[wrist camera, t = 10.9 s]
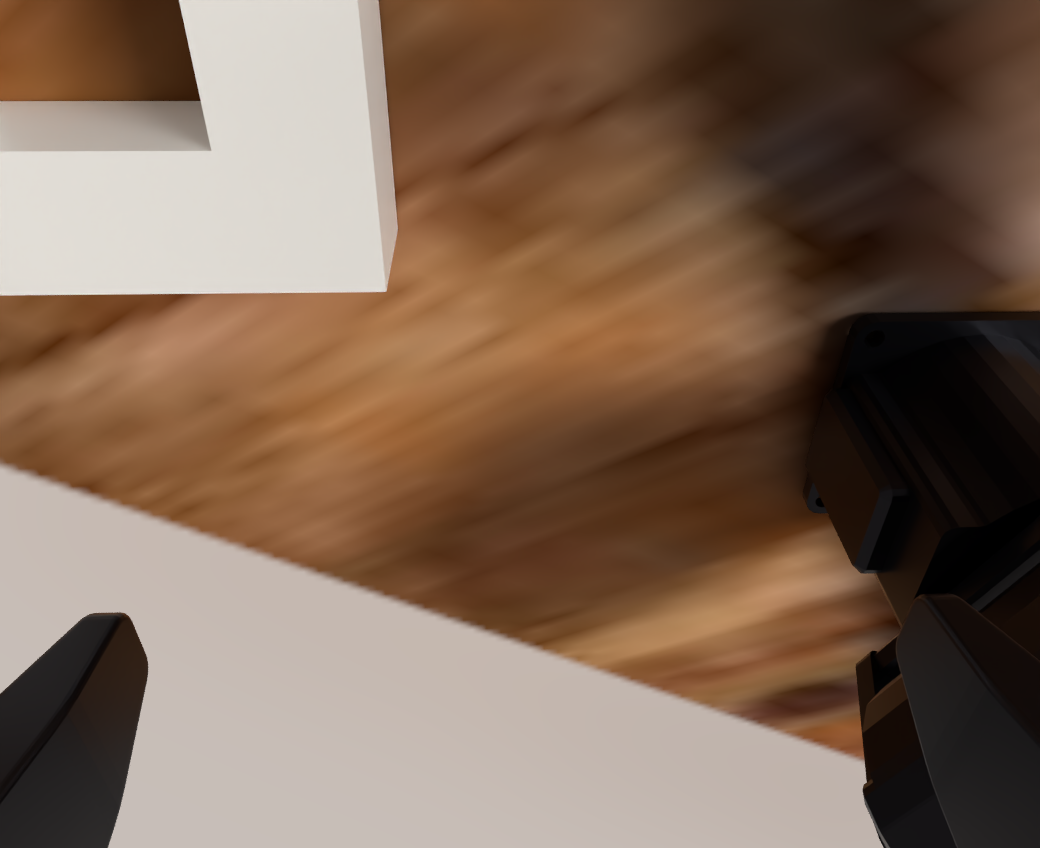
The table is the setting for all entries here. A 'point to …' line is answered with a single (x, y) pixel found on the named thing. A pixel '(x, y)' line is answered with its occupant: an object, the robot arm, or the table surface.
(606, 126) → the table surface
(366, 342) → the table surface
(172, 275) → the white square frame
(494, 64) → the table surface
